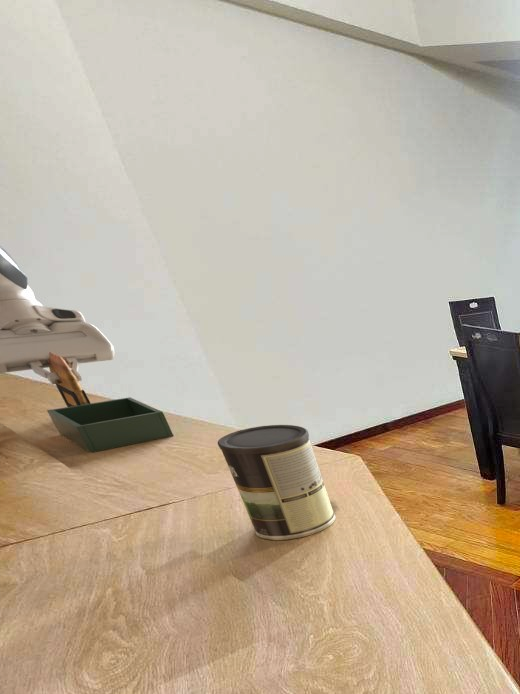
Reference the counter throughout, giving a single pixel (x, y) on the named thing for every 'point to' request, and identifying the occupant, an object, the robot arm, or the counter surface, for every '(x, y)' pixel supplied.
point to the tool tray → (110, 423)
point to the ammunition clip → (67, 382)
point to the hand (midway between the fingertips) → (67, 381)
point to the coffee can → (278, 481)
